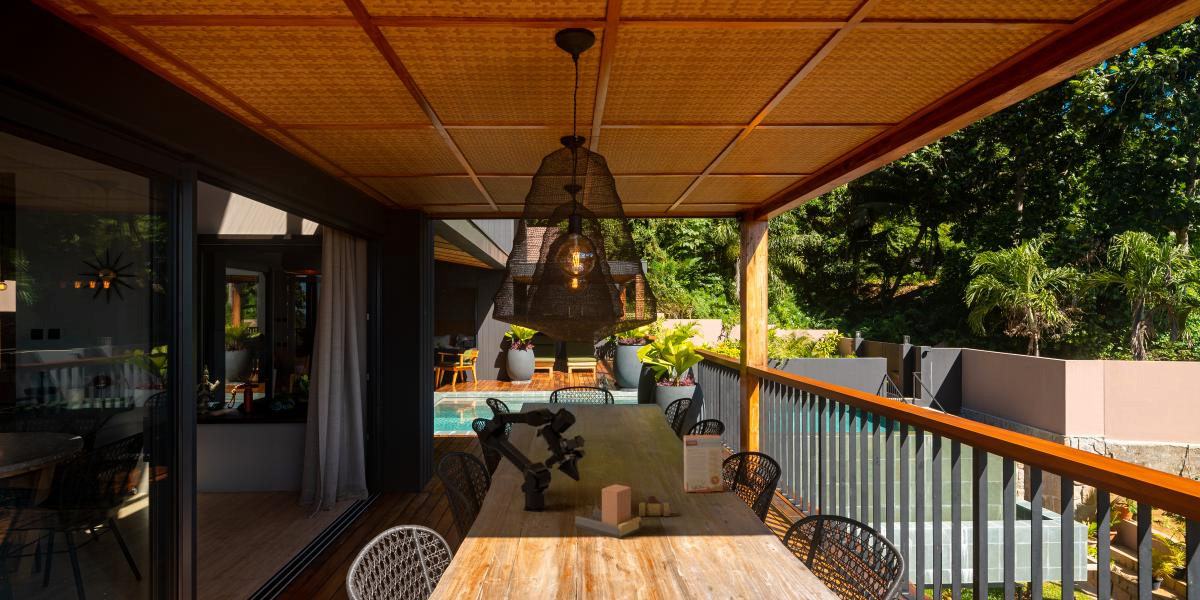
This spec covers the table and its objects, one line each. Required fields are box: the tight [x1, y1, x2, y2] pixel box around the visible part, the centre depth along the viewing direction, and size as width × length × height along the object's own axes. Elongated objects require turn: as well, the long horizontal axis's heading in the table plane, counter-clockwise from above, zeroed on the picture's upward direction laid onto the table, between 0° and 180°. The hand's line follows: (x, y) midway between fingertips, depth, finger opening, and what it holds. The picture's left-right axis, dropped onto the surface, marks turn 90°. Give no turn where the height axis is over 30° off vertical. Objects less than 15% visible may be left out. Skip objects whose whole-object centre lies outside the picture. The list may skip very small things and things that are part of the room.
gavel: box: [638, 495, 671, 517], centre depth 226 cm, size 21×5×10 cm
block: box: [601, 484, 632, 527], centre depth 202 cm, size 6×7×12 cm
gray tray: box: [574, 508, 642, 540], centre depth 204 cm, size 18×10×4 cm, turn 51°
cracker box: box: [683, 434, 724, 493], centre depth 247 cm, size 14×6×21 cm, turn 92°
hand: (578, 480), depth 214 cm, fingers closed
